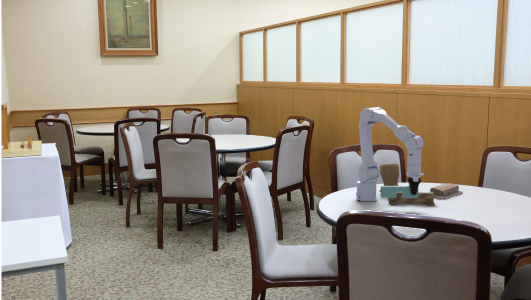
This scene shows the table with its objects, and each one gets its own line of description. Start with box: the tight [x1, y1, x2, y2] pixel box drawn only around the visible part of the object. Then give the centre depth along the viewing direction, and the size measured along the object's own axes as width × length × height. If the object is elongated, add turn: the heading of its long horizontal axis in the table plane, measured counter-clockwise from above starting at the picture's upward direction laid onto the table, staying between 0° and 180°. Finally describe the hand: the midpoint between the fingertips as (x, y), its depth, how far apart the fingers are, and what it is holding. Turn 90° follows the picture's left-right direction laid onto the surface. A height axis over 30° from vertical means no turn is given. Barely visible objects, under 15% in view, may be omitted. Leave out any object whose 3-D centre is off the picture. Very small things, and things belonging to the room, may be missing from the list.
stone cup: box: [379, 162, 400, 193], centre depth 237 cm, size 15×12×15 cm
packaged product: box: [427, 182, 464, 200], centre depth 231 cm, size 18×5×10 cm
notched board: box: [387, 191, 436, 207], centre depth 217 cm, size 20×8×5 cm, turn 79°
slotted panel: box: [380, 185, 419, 199], centre depth 207 cm, size 16×2×5 cm, turn 79°
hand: (413, 194), depth 206 cm, fingers closed on slotted panel, 1 cm apart
